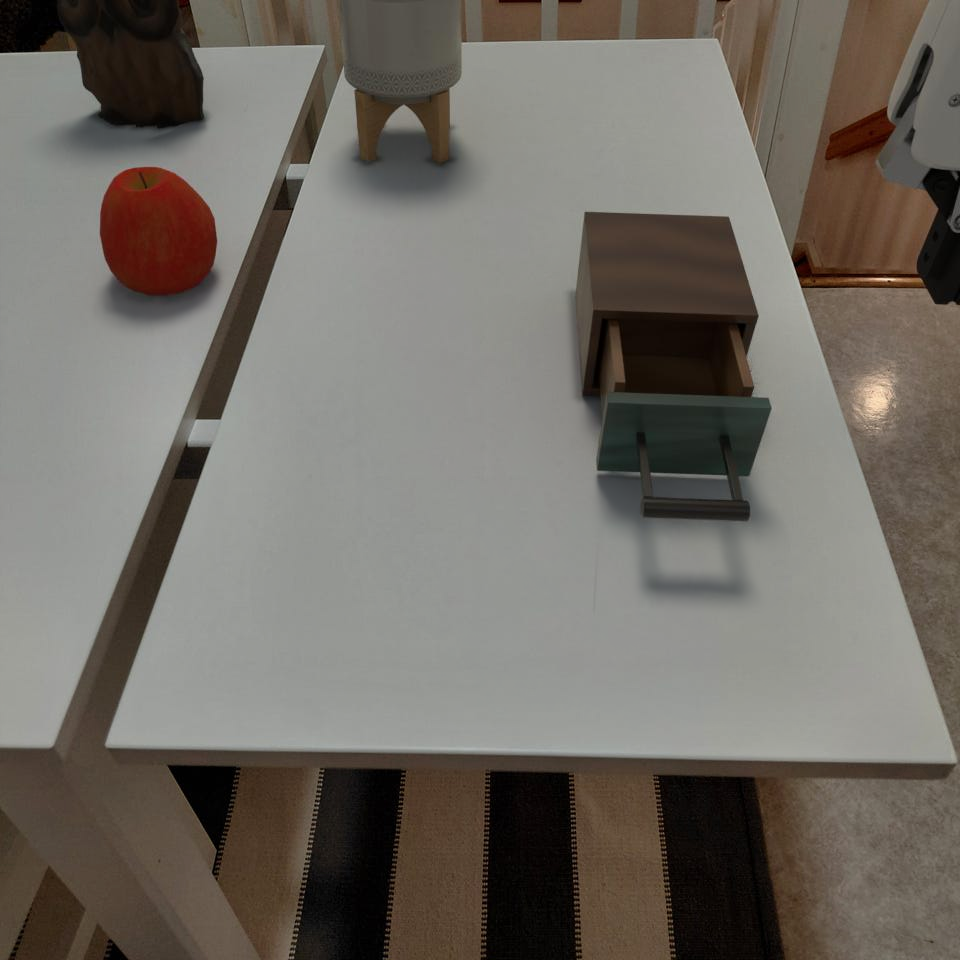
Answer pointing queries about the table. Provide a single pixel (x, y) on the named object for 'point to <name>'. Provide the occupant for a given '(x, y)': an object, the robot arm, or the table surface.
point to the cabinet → (658, 277)
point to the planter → (402, 65)
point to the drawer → (679, 410)
